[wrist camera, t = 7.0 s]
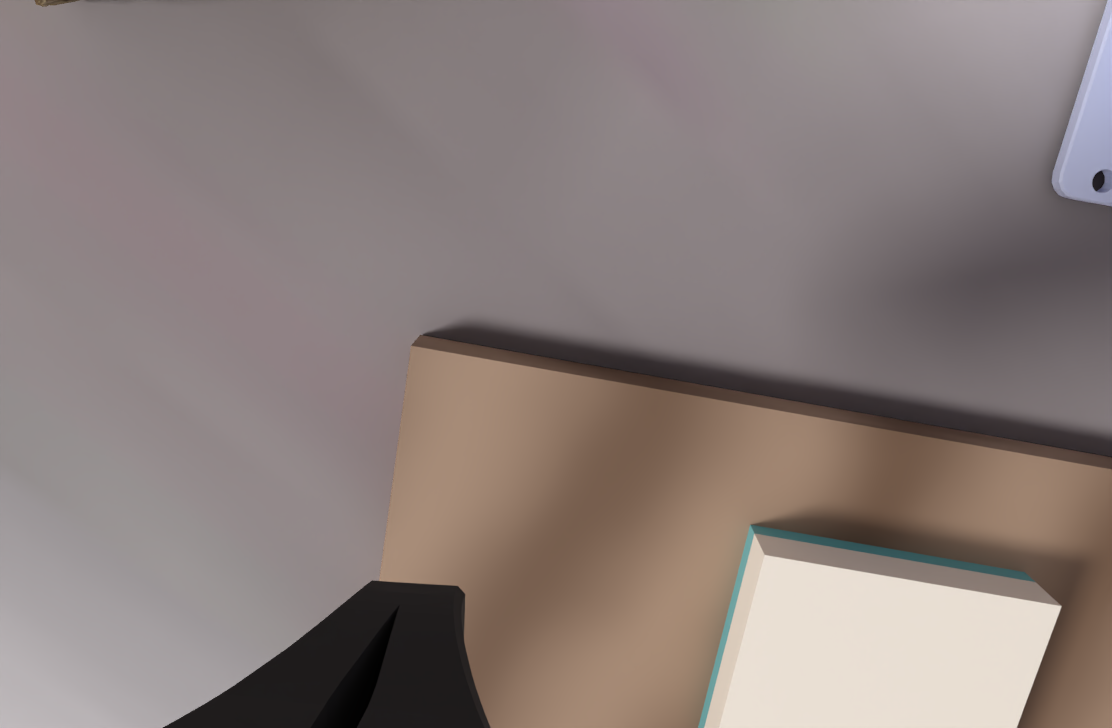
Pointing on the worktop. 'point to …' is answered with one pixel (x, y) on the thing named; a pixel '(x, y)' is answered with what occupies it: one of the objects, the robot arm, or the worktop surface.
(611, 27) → the worktop surface
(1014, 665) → the tile
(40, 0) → the rock
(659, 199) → the worktop surface
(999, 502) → the board
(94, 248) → the worktop surface
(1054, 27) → the worktop surface
